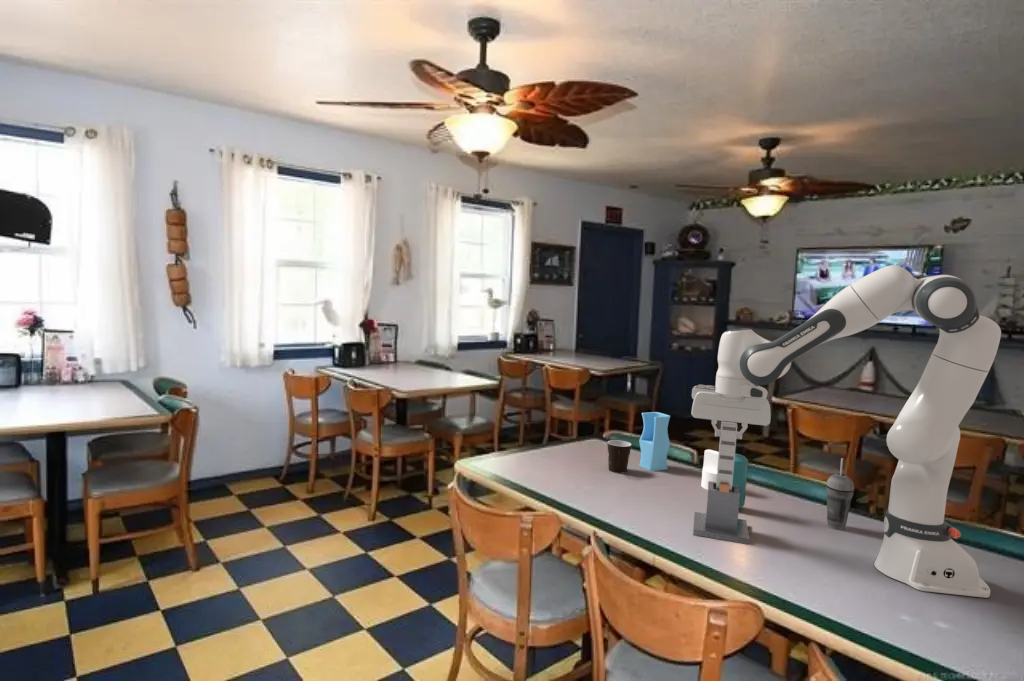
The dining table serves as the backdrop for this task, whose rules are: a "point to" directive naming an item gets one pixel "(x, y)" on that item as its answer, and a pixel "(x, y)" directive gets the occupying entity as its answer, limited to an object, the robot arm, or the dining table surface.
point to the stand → (721, 515)
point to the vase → (654, 441)
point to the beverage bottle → (740, 472)
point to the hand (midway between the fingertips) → (728, 437)
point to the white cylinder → (709, 467)
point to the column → (726, 454)
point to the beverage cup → (838, 499)
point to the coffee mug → (618, 455)
